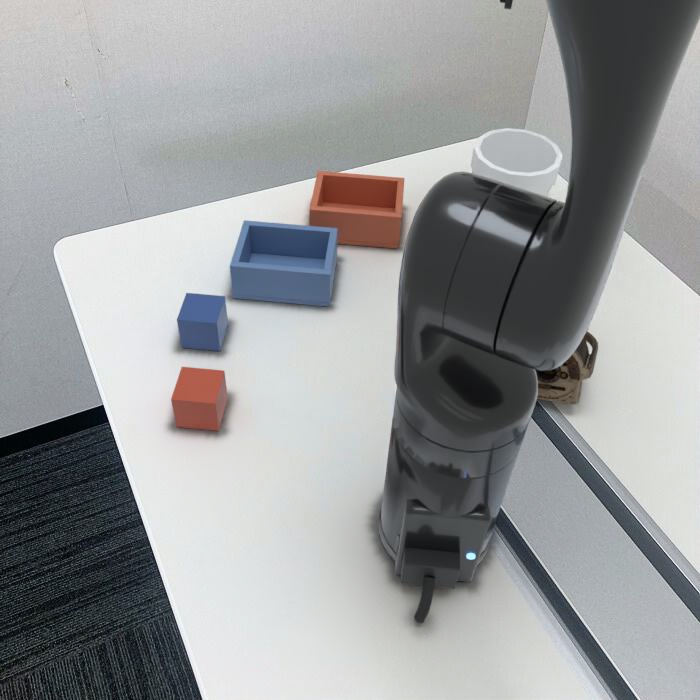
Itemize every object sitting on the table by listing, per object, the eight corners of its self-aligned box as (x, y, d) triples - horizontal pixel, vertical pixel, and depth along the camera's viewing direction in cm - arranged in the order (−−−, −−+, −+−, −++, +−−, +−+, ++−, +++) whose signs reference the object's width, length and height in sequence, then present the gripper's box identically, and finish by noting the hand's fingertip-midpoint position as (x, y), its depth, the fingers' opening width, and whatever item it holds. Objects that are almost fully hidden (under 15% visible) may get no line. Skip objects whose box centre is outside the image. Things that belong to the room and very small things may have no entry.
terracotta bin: (398, 248, 89) (401, 217, 86) (309, 241, 90) (309, 209, 86) (401, 209, 95) (404, 177, 91) (317, 202, 95) (317, 170, 92)
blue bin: (329, 306, 82) (330, 274, 79) (232, 298, 82) (229, 265, 79) (336, 259, 87) (337, 227, 84) (246, 252, 88) (243, 220, 84)
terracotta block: (219, 431, 70) (215, 403, 67) (176, 427, 70) (170, 399, 67) (228, 398, 73) (224, 370, 70) (186, 394, 73) (181, 366, 70)
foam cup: (548, 241, 91) (575, 146, 82) (517, 282, 86) (542, 186, 76) (477, 214, 95) (496, 119, 85) (443, 252, 89) (459, 156, 80)
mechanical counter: (475, 334, 72) (567, 373, 66) (550, 264, 78) (641, 294, 72) (480, 387, 77) (567, 428, 71) (551, 317, 83) (637, 350, 76)
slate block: (220, 351, 77) (216, 323, 74) (181, 347, 77) (176, 319, 74) (228, 324, 79) (225, 295, 77) (190, 320, 80) (186, 292, 77)
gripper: (507, -146, 63) (477, 24, 77) (682, -129, 62) (619, 41, 76) (512, -191, 66) (483, -21, 80) (677, -176, 65) (618, -6, 79)
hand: (549, 9), depth 78 cm, fingers open, 8 cm apart
